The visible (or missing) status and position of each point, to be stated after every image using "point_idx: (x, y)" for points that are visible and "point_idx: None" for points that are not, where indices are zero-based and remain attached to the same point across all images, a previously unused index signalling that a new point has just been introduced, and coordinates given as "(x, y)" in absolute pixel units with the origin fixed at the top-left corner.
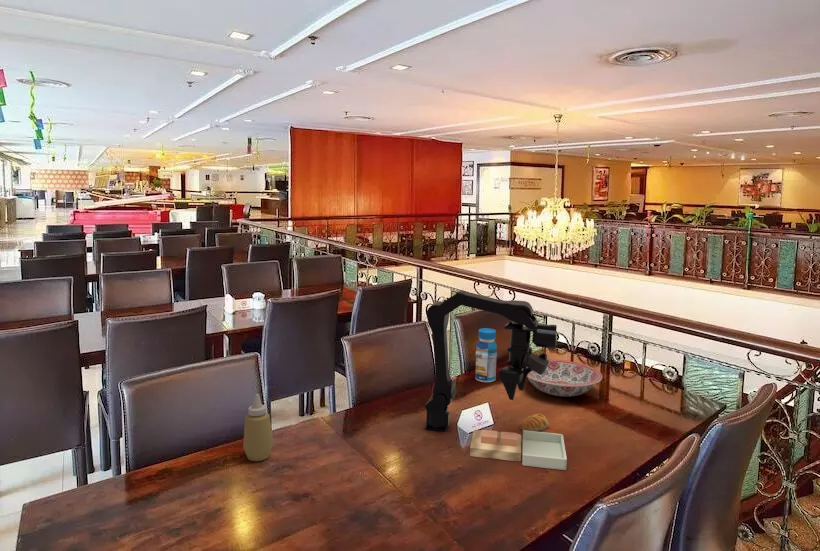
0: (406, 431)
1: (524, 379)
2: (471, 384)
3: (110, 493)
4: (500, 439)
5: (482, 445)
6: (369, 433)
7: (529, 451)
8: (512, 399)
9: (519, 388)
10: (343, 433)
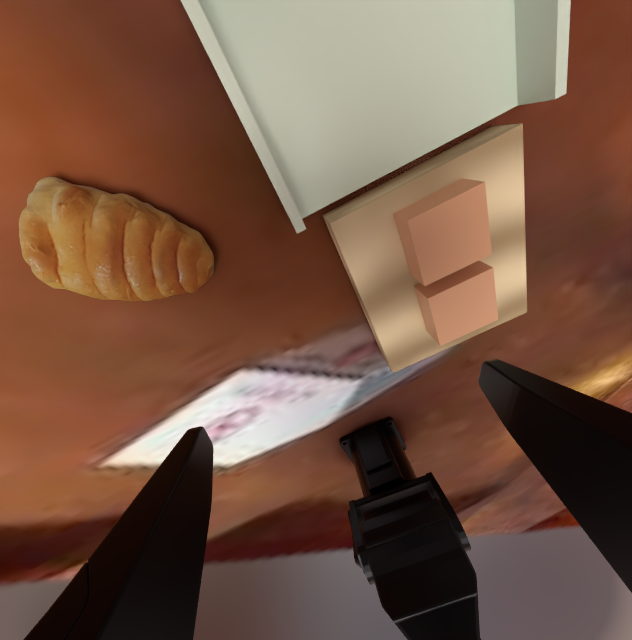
0: (431, 457)
1: (142, 571)
2: (36, 548)
3: None
4: None
5: (498, 292)
6: (470, 481)
7: (399, 129)
8: (500, 365)
9: (209, 456)
10: (486, 497)
